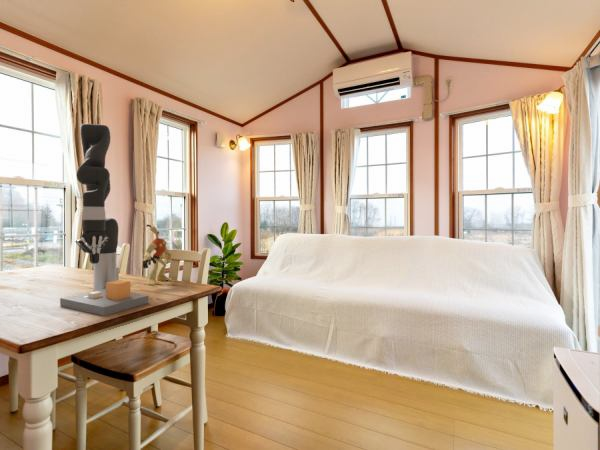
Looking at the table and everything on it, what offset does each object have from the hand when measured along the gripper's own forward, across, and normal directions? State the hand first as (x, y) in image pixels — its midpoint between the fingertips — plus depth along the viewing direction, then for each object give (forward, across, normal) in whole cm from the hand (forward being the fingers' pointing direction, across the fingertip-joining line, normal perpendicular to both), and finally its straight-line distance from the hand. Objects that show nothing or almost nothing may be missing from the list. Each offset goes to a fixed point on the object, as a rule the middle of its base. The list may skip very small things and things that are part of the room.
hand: (94, 263), depth 124 cm
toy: (+16, -38, -11) cm, 43 cm away
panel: (+16, -2, +3) cm, 17 cm away
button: (+14, 0, 0) cm, 14 cm away
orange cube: (+13, -4, +8) cm, 16 cm away
